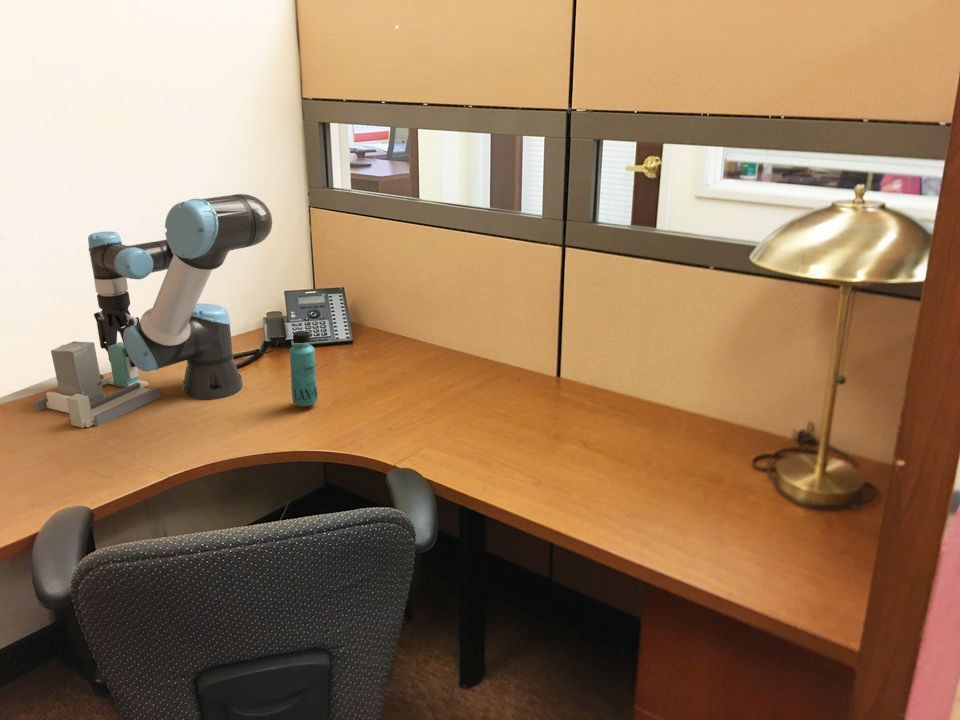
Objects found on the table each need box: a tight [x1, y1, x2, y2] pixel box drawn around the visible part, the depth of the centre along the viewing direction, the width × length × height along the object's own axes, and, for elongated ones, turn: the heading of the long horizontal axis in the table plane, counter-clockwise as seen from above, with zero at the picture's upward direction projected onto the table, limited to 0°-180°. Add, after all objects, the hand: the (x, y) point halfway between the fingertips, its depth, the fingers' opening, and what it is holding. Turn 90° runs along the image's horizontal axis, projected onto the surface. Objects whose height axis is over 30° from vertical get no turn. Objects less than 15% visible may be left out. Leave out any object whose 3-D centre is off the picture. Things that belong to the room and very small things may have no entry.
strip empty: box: [67, 387, 152, 429], centre depth 189 cm, size 5×22×7 cm, turn 157°
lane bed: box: [34, 374, 162, 427], centre depth 193 cm, size 21×20×2 cm
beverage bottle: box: [289, 330, 319, 407], centre depth 191 cm, size 6×7×20 cm
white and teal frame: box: [46, 341, 149, 414], centre depth 195 cm, size 11×22×11 cm, turn 157°
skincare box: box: [50, 340, 105, 403], centre depth 190 cm, size 8×7×16 cm
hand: (125, 375), depth 204 cm, fingers closed on white and teal frame, 5 cm apart
